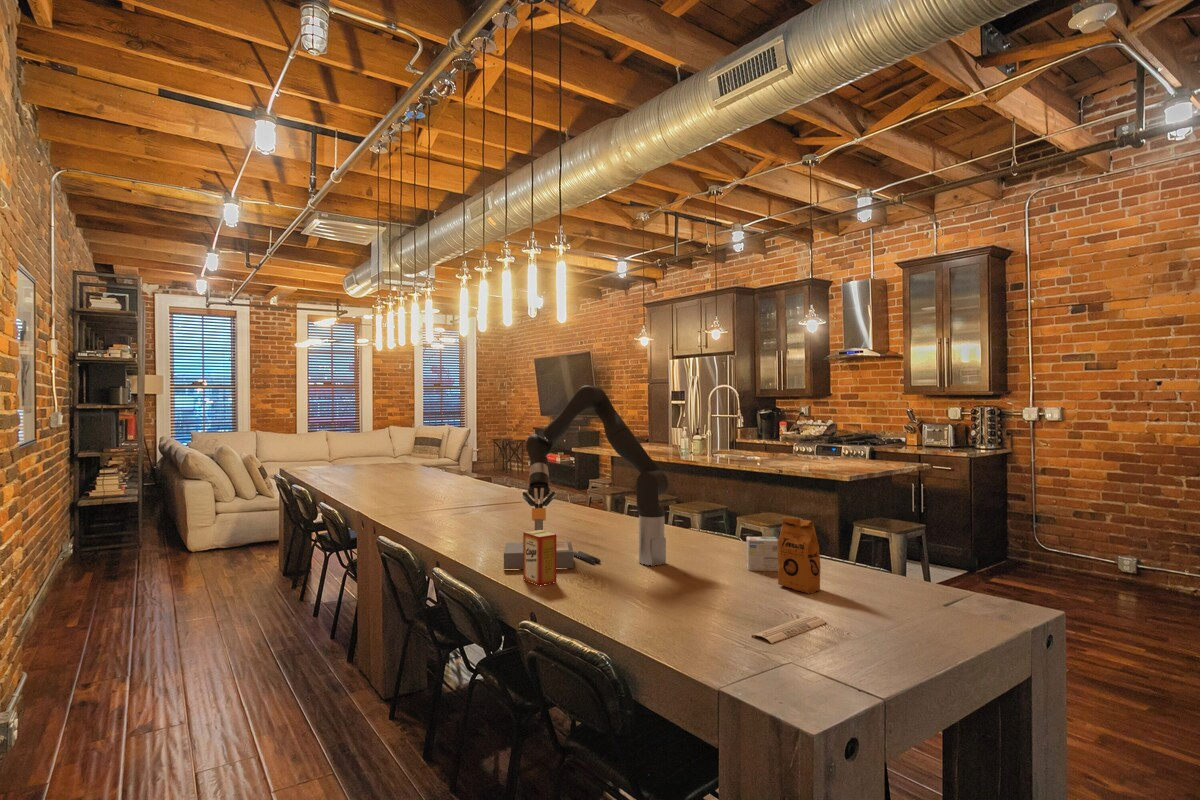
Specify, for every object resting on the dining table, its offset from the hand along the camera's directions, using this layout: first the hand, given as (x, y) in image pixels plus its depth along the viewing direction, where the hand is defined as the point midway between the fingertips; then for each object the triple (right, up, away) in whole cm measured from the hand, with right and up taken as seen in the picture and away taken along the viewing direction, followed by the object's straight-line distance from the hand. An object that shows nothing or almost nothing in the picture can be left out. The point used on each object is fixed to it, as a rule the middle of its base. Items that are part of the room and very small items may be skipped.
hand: (538, 514), depth 238 cm
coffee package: (+85, -17, -37) cm, 94 cm away
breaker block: (+1, -16, -8) cm, 18 cm away
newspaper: (+72, -18, -73) cm, 104 cm away
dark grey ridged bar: (+18, -16, -1) cm, 24 cm away
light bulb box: (+80, -17, -14) cm, 82 cm away
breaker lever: (+1, -10, -8) cm, 13 cm away
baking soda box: (+3, -17, -30) cm, 34 cm away
